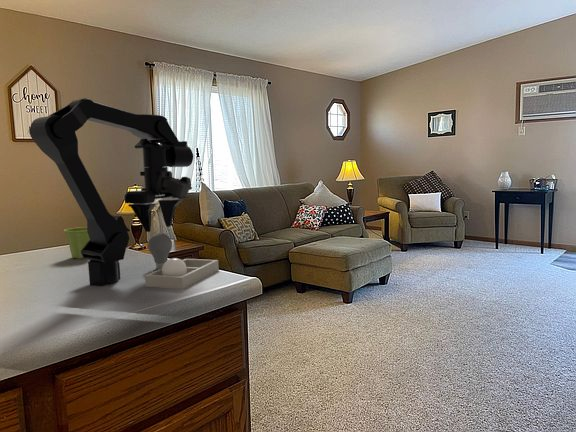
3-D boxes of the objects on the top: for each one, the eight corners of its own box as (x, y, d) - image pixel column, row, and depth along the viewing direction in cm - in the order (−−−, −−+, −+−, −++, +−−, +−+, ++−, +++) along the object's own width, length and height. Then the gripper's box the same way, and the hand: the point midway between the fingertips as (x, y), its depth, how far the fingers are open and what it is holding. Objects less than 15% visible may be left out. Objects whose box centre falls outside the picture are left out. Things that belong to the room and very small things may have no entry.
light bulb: (176, 268, 115) (174, 231, 114) (168, 274, 109) (166, 235, 108) (154, 268, 116) (152, 231, 115) (145, 274, 110) (143, 235, 109)
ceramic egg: (179, 285, 95) (178, 261, 94) (157, 284, 97) (156, 260, 96) (191, 279, 100) (190, 256, 99) (171, 278, 102) (169, 255, 101)
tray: (183, 293, 93) (182, 277, 92) (145, 290, 95) (144, 275, 95) (218, 273, 109) (218, 260, 109) (186, 271, 112) (185, 258, 112)
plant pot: (66, 255, 136) (64, 228, 135) (99, 252, 140) (97, 225, 139) (65, 261, 128) (63, 232, 127) (100, 258, 132) (98, 229, 131)
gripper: (163, 166, 98) (166, 235, 100) (202, 166, 116) (204, 225, 118) (121, 167, 102) (125, 234, 103) (165, 167, 119) (167, 224, 121)
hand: (158, 229), depth 111 cm, fingers open, 9 cm apart
